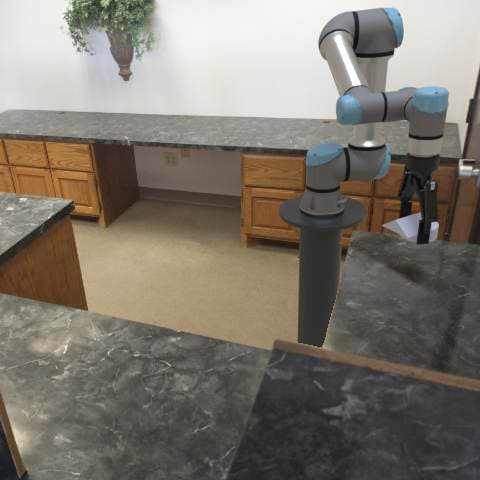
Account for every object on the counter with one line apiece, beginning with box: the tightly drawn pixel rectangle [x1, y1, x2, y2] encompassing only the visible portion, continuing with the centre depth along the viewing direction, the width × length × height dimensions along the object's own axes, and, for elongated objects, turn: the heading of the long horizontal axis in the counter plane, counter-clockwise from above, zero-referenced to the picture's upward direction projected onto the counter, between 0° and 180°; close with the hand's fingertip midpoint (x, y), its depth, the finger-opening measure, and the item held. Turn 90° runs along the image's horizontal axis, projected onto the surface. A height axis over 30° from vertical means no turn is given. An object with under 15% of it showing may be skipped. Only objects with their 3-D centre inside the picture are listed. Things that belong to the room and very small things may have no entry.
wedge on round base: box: [381, 211, 440, 243], centre depth 133 cm, size 9×7×13 cm
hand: (412, 233), depth 134 cm, fingers closed on wedge on round base, 11 cm apart
